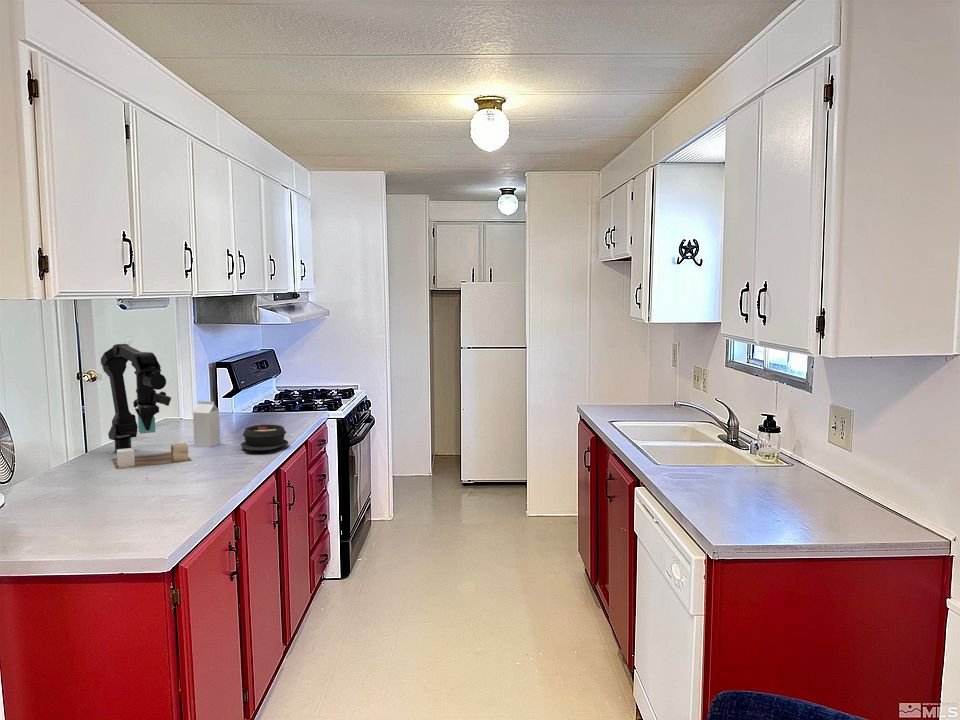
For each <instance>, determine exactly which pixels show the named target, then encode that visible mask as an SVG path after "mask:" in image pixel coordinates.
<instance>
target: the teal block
mask: <svg viewBox="0 0 960 720" xmlns="http://www.w3.org/2000/svg"><path fill="white" fill-rule="evenodd" d="M137 425H138V430H137V432H138V433H139V434H149V433H150V434H152V433H156V418H155V415H154V416H153V417H152V422H151V426H150V430H146V429H145V426H144V424H143V422H142V420H141V417H140V416H137Z"/></svg>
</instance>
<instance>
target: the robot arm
mask: <svg viewBox="0 0 960 720" xmlns="http://www.w3.org/2000/svg"><path fill="white" fill-rule="evenodd" d="M128 362H131V366H132V367H133V368H134V370H135V371H134V372H133V374H135V378H136V389H135V393H136V399H134V400H133V408H135V409H134V410H135V412H136V415H137V417H139V416H140V417H141V420H142V422H143V424H144V426H145V429H146V430H150V426H151V422H152V417H153V416H154V417H155V415H156V414H158V413H160V406H158V404H161V405H164V406H167V407H169V406H170V403H171V401H172V397H171V396H169V395H167V393H166V392H165V391H160V390H163V388H165V386H166V385H167V379H166V377H165V375H164V374H161V373H162V369H161V368H162V366H161V365H160V362H159V361H158V359H157V357H156V355H155V353H153V352H150V351H140V350H138V349H137V348H134V347H132V346H131V345H129V344H127V343H116V344H114V345H112V347H111V348H110V349H108V350H106V351H104V353H103V354H102V356H101V357H100V365H101V366H102V370H103V372H104V373H105V374H106V375H107V376H108V378H109V381H110V383H109V384H110V388H111V394H112V395H111V396H112V401H113V408H114V416H113V418H112V420H111V427H110V429H109V432H108V433H107V434H108V439H109V440H111V441H114V451H113V453H117V449H127V448H132V439H133V438H137V434H138V422H137V417H136V415H135V414H132V413H131V412H130V409H129V403H128V397H127V391H126V385H125V379H124V373H125V372H126V369H127V363H128ZM157 390H158V391H159V392H158V393H157ZM157 403H158V404H157Z"/></svg>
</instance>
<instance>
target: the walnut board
mask: <svg viewBox="0 0 960 720" xmlns="http://www.w3.org/2000/svg"><path fill="white" fill-rule="evenodd" d="M110 460H111V462H112V464H113V466H114V467H115V469H116V470H125V469H134V468H135V469H136V468H142V467H144V468H145V467H151V466H152V467H153V466H160V465H169V464H176V463H177V464H178V463H179V464H180V463H184V462H185V463H186V462H187V463H188V462H193V459H192V458H191V457H189V456H188V460H182V461H173V460H172V459H171V452H162V453H155V454H154V453H153V454H145V455H134V460H135V466H129V467H120V468H119V467H118V465H117V457H116V458H110Z"/></svg>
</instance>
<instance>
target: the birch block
mask: <svg viewBox="0 0 960 720" xmlns="http://www.w3.org/2000/svg"><path fill="white" fill-rule="evenodd" d="M170 453H171V459H172V460H173V461H182V460H188V457H189V445H188V444H187V443H186V442H178V443H170Z"/></svg>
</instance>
